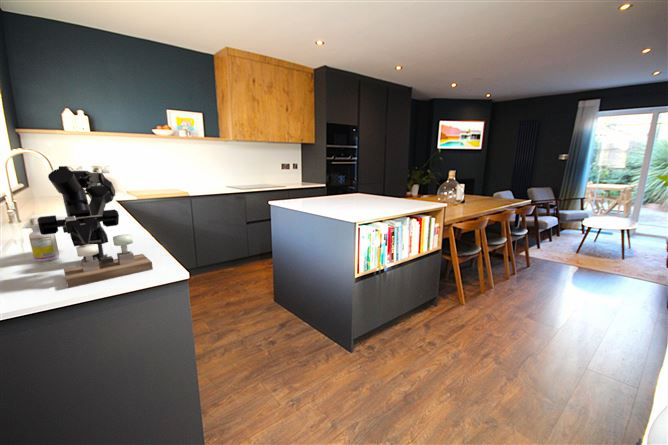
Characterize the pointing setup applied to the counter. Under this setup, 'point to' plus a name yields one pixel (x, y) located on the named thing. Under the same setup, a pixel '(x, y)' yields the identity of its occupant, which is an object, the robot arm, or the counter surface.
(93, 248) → the knob cream
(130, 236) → the knob sage
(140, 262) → the knob mount
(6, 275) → the counter surface
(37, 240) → the supplement bottle
